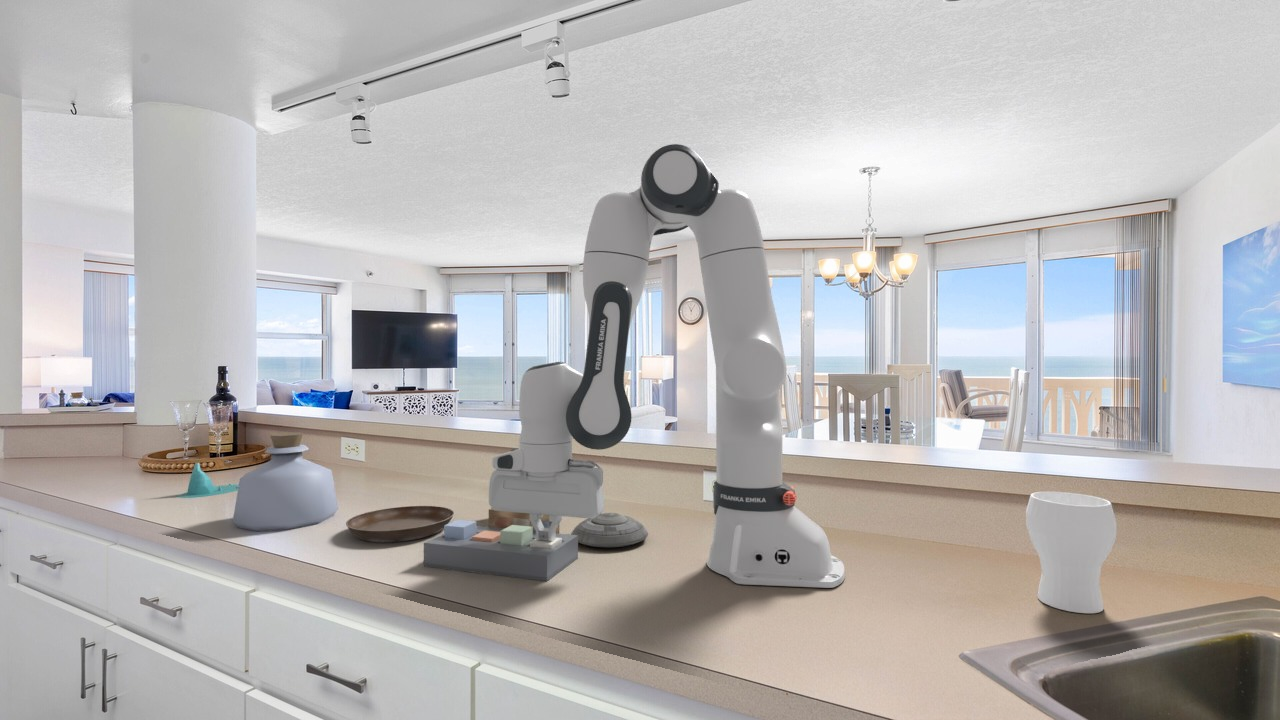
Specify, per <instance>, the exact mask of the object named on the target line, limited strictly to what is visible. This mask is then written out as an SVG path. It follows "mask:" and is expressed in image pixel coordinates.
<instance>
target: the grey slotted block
mask: <svg viewBox="0 0 1280 720" xmlns="http://www.w3.org/2000/svg"><path fill="white" fill-rule="evenodd" d="M503 529H505V528H494V527H489V526H481V525H477V534H478V533H480V532H483V531H494V532H500V531H501V530H503ZM475 535H476V534H475ZM473 536H474V535H473ZM556 538H562V543H561V544H559V545H558V546H556V547H555V548H553V549H549V548H539V547H530V542H532V541H533V540H535V539H536V531H533V540H531V541H530V542H528V543H526V544H524V545H523V546H520V545H510V544H501V543H500V539H499V540H497V541H495V542H493V543H491V542H481V541H472V536H471V537H469V538H467V539H465V540H462V539H452V538H444V533H442V534H440V535H439V536H436V537H434V538H431V539H429V540H427V541H425V542H423V566H424V567H427V568H435V569H445V570H453V571H460V572H468V573H469V572H470V573H477V574H485V575H494V576H501V577H507V578H508V577H509V578H516V579H517V578H518V579H525V580H527V579H528V580H533V581H540V582H541V581H542V582H543V581H544V582H548V581H550V580H551V579H552V578H554V577H555V576H557V575H558V574H559V573H560V572H561V571H563V570H564V569H565V568H567V567H568V566H570V565H572V563H574V562H575V561H576V560H578V559H579V542H578V535H571V534H567V533H559V534H558V533H556Z"/></svg>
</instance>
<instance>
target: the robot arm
mask: <svg viewBox="0 0 1280 720" xmlns="http://www.w3.org/2000/svg"><path fill="white" fill-rule="evenodd" d="M640 177H641V178H640V181H641V182H640V187H639V188H637V189H636V190H635V191H632V192H629V193H628V192H618V191H617V192H612V193H609V194H606V195H603V196H602V197H601V198H600V199H599V200H598V202H597V203H596V205H595V207H594V210H593V212H592V213H593V214H592V216H591V220H590V223H589V228H588V230H587V236H586V241H585V246H584V254H583V261H582V262H583V263H582V286H583V287H582V288H583V296H584V300H585V302H586V307H587V312H588V313H587V314H588V323H589V325H588V337H587V344H586V353H585V360H584V368H583V373H581V372H580V371H578V370H576V369H574V368H573V367H571V366H570V365H569V364H568V363H566V362H563V361H555V362H549V363H544V364H538V365H534V366H532V367H529V368H528V369H527V370H526V371H525V372H524V373H523V375H522V378H521V380H520V386H519V387H520V388H519V398H518V399H519V401H518V403H519V404H518V416H519V420H520V424H521V431H520V436H519V440H518V441H519V442H518V443H519V444H518V448H514V449H511V450H510V451H507V452H505V453H500V454H498V455H495V456H494V457H492V460H491V464H492V465H491V466H492V468H493V469H494V470H493V471H492V473H491V475H490V478H489V483H488V484H489V485H488V504H489V506H490V509H491V508H492V509H493V510H495V511H507V512H519V513H530V521H531V523H532V525H533V527H534V529H535V530H536V540H542V541H551V542H552V541H554V540H555V538H556V529H557V527H558V525H559V526H560V524H561V522H562V520H563V517H566V518H567V517H568V518H577V519H579V518H580V519H588V518H589V519H594V518H596V517H598V516H599V515H600V514H603V513H604V511H605V497H604V489H603V488H604V487H603V484H604V470H603V468H602V467H601V466H600V465H599V464H598V463H596V462H595V461H593V460H582V459H581V460H580V459H573V439H574V441H575V442H576V443H578V444H579V445H581V446H582V447H585V448H588V449H591V450H599V451H600V450H607V449H610V448H612V447H614V446H616V445H617V444H619V443H620V442H621V441H622V440H623V439H624V438H625V437H626V436H627V434H628V432H629V430H630V428H631V425H632V419H633V418H632V409H631V405H630V402H629V399H628V397H627V396H628V395H627V393H626V389H625V370H626V360H627V353H628V352H627V351H628V342H629V341H628V340H629V335H630V334H629V333H630V327H631V324H632V320H633V318H634V315H635V313H636V310H637V307H638V305H639V303H640V301H641V298H642V294H643V292H644V288H645V287H644V286H645V284H646V280H647V276H648V275H647V274H648V268H649V261H650V250H651V244H652V240H653V237H654V236H659V235H663V234H670V233H675V232H680V231H683V230H685V229H687V228H689V229H690V230H691V231H692V233H693V235H694V237H695V239H696V244H697V249H698V251H697V252H698V258H699V264H700V271H701V272H700V273H701V277H702V285H703V291H704V298H705V305H706V312H707V317H708V325H709V329H710V337H711V343H712V344H711V345H712V350H713V355H714V356H713V357H714V363H715V406H716V407H715V412H716V413H715V415H716V416H715V417H716V419H715V423H716V431H715V432H716V433H715V434H716V435H715V438H716V440H715V441H716V445H715V446H716V447H715V448H716V451H715V452H716V453H715V454H716V455H715V456H716V457H715V458H716V459H715V460H716V463H715V465H716V466H715V467H716V469H715V470H716V474H715V475H716V478H715V479H716V480H715V481H714V483H713V489H712V497H713V498H712V507H713V514H714V515H715V516H714V527H713V533H712V540H711V545H710V551H709V553H708V558H707V560H706V565H707V566H708V568H709V569H710V570H712V571H714V572H715V573H717V574H720V575H722V576H725V577H727V578H729V580H730V581H732V582H733V583H734V584H735V583H736V584H738V585H750V586H752V585H753V586H773V587H775V586H776V587H799V588H800V587H802V588H825V589H827V588H828V589H829V588H831V589H832V588H835V587H837V586H839V585H841V584H842V583H843V582H844V581H845V577H846V571H845V565H844V563H843V561H842V560H841V559H839V558H838V557H836V556H834V555H833V554H832V553H831V547H830V542H829V539H828V536H827V534H826V532H825V530H823V528H822V527H821V526H820V525H818V524H817V523H816V522H814V521H813V520H812V519H810V517H808V516H807V515H806V514H805V513H803V512H802V511H801V510H799V509H798V508H797V507H796V500H797V495H796V491H795V488H794V486H793V485H791V486H790V485H788V484H787V483H786V482H783V432H782V421H781V406H780V389H781V387H783V384H784V382H785V379H786V376H787V363H786V358H785V351H784V347H783V341H782V336H781V332H780V327H779V321H778V316H777V313H776V308H775V304H774V300H773V295H772V289H771V284H770V275H769V270H768V263H767V257H766V252H765V251H766V250H765V244H764V238H763V234H762V230H761V226H760V223H759V218H758V216H757V213H756V209H755V208H754V204H753V202H752V200H751V198H750V197H749V196H748V195H747V193H746V192H743V191H741V190H738V189H731V188H729V189H728V188H727V189H726V188H725V189H724V188H723V189H719V188H720V186H719V185H720V183H719V181H718V179H717V177H716V176H715V175H714V173H712V171H711V170H710V168H708V166H707V164H706V163H705V161H704V160H703V159H702V158H701V156H700V155H699V154H698V153H697V152H696V151H694V150H693V149H692V148H691V147H688V146H686V145H683V144H679V143H677V144H673V143H672V144H667V145H664V146H662V147H660V148H658V149H657V150H655V151H654V152H653V153H652V154H651V155H650V156H649V158H647V160H646V161H645V164H644V166H643V168H642V170H641V176H640ZM543 515H549V521H551V522H552V524H551V525H550V527H549V528H544V526H543V524H542V522H541V520H540V518H541V517H543Z"/></svg>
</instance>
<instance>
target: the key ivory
mask: <svg viewBox="0 0 1280 720" xmlns="http://www.w3.org/2000/svg"><path fill="white" fill-rule="evenodd" d="M561 543H562V538H555V540H554V541H552V542H551V541H542V540H536V539H535V540H533V541H532V542H530V547H539V548H549V549H553V548H555V547H556V546H558V545H559V544H561Z"/></svg>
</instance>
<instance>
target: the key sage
mask: <svg viewBox="0 0 1280 720" xmlns="http://www.w3.org/2000/svg"><path fill="white" fill-rule="evenodd" d="M531 540H533V527H530V526H519V525H511V526H509V527H507V528H505V529H503V530H501V531H500V543H501V544H510V545H520V546H523V545H524V544H526V543H528V542H530V541H531Z"/></svg>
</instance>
